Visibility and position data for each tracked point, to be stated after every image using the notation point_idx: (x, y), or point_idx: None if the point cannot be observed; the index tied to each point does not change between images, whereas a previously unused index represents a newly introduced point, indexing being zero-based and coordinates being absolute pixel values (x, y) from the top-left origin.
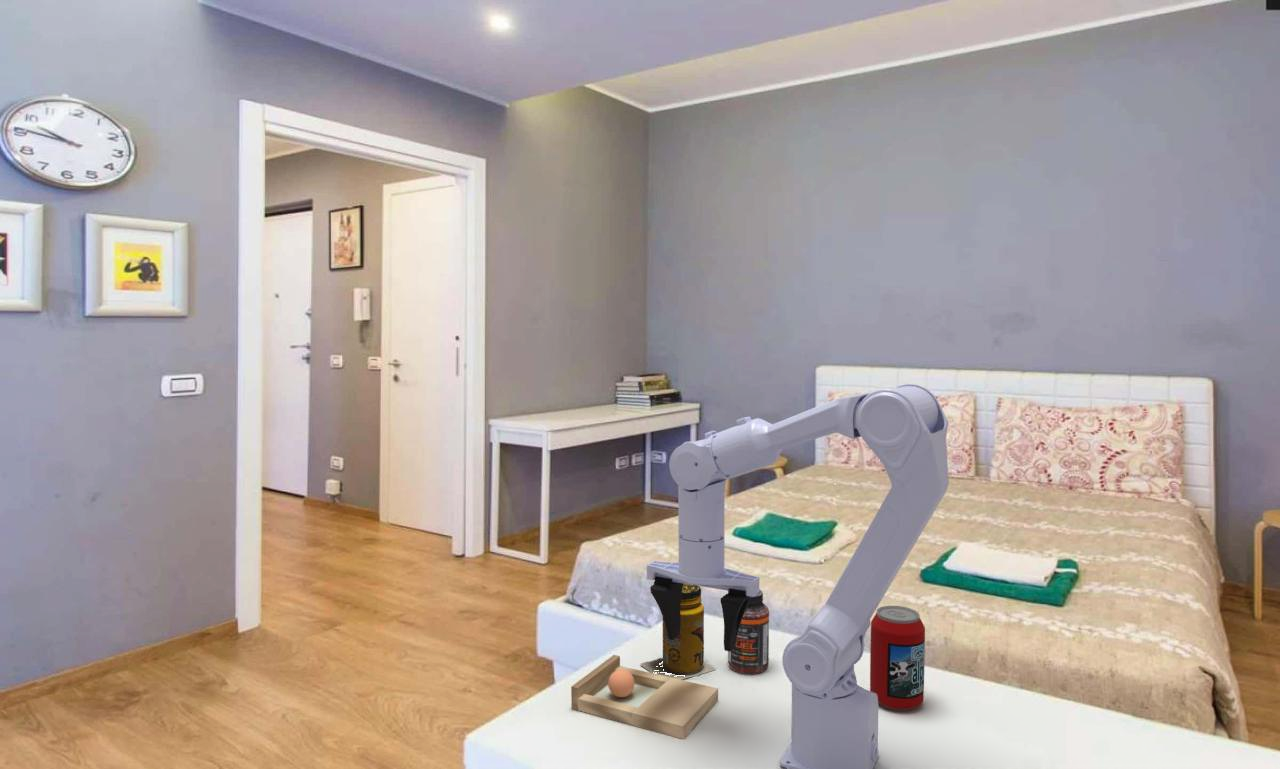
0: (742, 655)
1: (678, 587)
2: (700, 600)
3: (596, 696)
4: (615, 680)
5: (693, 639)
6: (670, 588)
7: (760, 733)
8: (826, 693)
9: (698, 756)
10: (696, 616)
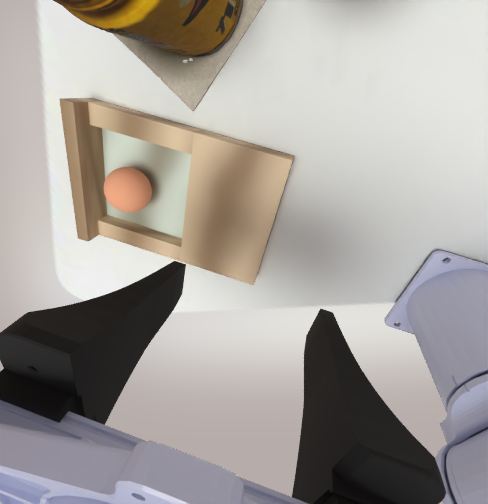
0: None
1: (100, 364)
2: None
3: None
4: (120, 210)
5: (198, 23)
6: (92, 414)
7: (366, 250)
8: None
9: (281, 304)
10: None
